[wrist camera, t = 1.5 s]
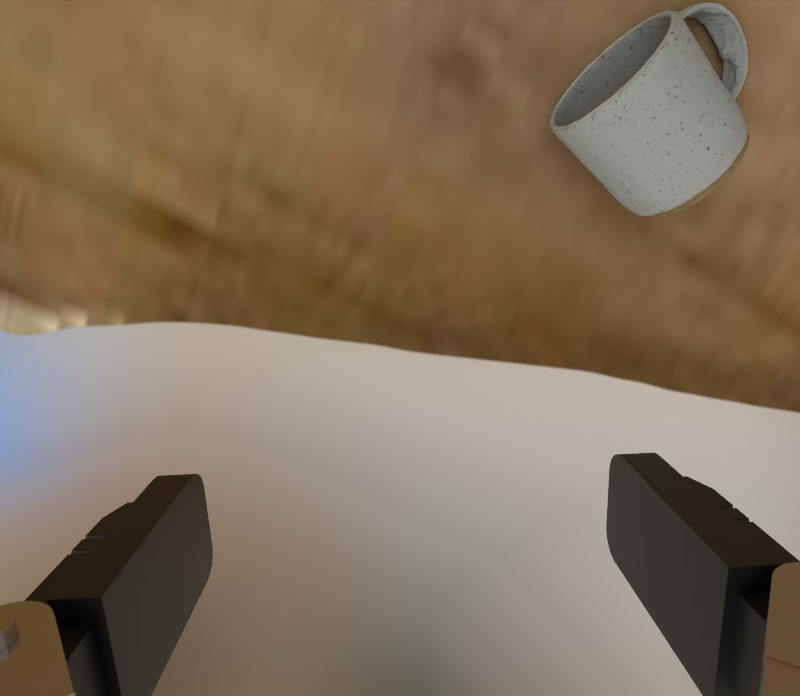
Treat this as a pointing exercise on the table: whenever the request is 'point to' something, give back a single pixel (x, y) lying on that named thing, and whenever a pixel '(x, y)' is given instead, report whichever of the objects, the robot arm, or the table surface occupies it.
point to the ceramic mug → (660, 112)
